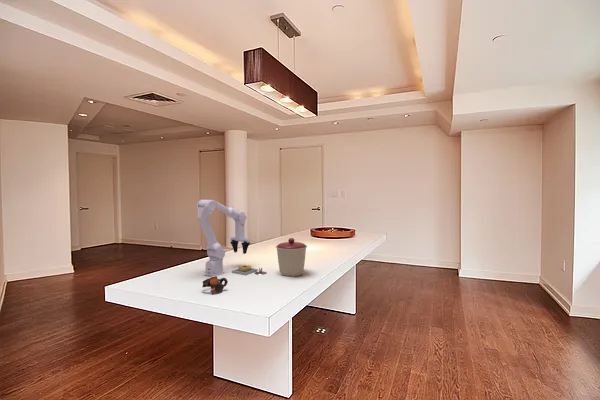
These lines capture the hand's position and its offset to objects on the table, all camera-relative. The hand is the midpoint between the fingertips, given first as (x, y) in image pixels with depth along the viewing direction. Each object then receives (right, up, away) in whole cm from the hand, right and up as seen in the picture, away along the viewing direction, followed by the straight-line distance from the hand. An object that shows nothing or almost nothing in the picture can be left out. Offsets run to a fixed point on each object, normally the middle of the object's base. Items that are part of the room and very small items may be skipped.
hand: (240, 252), depth 203 cm
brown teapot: (-4, -12, -44) cm, 46 cm away
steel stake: (+14, -10, -14) cm, 23 cm away
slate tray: (+5, -10, -12) cm, 16 cm away
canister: (+33, -10, -16) cm, 37 cm away
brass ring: (+5, -9, -12) cm, 16 cm away
